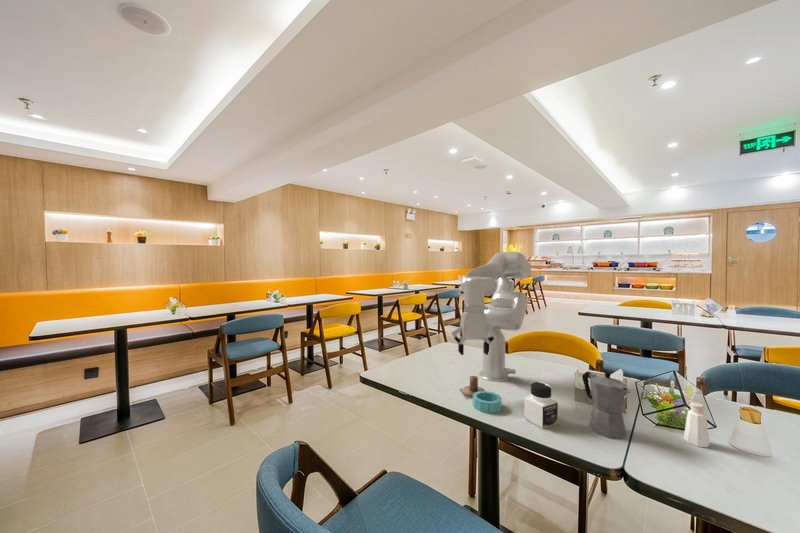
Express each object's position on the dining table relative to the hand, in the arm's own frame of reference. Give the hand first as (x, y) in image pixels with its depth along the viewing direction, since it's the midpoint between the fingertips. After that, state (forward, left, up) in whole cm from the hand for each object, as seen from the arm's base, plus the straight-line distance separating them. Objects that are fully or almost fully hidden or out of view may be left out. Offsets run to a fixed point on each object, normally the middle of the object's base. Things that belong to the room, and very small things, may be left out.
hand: (473, 353), depth 117 cm
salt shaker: (-53, +36, -16) cm, 66 cm away
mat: (0, 0, -16) cm, 16 cm away
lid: (0, 0, -15) cm, 15 cm away
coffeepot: (-32, +27, -16) cm, 45 cm away
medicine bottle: (-15, +21, -16) cm, 30 cm away
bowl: (-1, +11, -16) cm, 19 cm away
